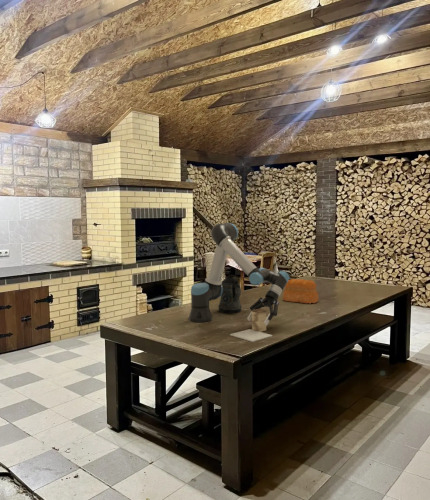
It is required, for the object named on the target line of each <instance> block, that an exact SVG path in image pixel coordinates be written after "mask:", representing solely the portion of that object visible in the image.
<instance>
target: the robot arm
mask: <svg viewBox="0 0 430 500" xmlns="http://www.w3.org/2000/svg"><path fill="white" fill-rule="evenodd" d="M210 235H211V239H212V240H213V242H214V243H215V244H216V246H215V249H214V250H215V251H214V253H213V257H212V262H211V266H210V269H209V274H208V277H205V279H204V282H199V283H194V284H192V285H191V288H190V296H191V297H190V299H191V301H190V303H191V309H190V312H189V315H188V321H190V322H193V323H207V322H208V323H209V322H211V321H213V315H212V312H211V308H210V302H211V301H215V300H217V299H218V298H221V294H222V292H223V288H222V276H223V274H224V273H223V272H224V268H225V266H226V261H227V259H228V258H227V257H228V256H229V257H230V258H231V259H232V260H233V261H234V263H235V264H236V265H237V266H238V267H239V268H240V269H241V270H242V271H243V273H244V274H245V275H247V277H248V281H249V283H250V284H251V285H252V286H259V285H262V284H266V283H268V284H270V287H269V288H268V290H267V292H266V293H265V295H264V296H265V297H264V298H262V297H259V298H258V300H257V301H255V303H253V304H252V305H251V306H250V307H249V309H250V312H249V314H248V316H247V318H246V319H247V320H248V322H252V310H256V309H261V308H264V307H265V308H267V307H268V308H269V312H270V313H268V315H266V320H265V321H264V324H265V325H266V327H267V326H268V324H269V323H270V321H271V320H272V319H273V317H278V309H279V304H280V302H279V301H278V300H279V297H280V296H281V294H282V292H284V291H283V290H285V286H286V284H287V282H288V281H289V280H290V275H289V273H288V272H286V271H284V270H281V271H279V272H278V273H277V272H274V271H272V270H270V269H267V268H265V267H260V268H258V267H257V266H256V265H255V264H254V263H253V262H252V260H251V259H249V257H248V256H247V255H246V254H245V253H244V252H243V251H242V250H241V249H240V248H239V246H238V245H237V244H236V243H234V241H235V240H237V238H238V236H239V229H238V228H237V226H236V225H235V224H234V223H230V222H226V223H217V224H214V226H213V227H212V228H211V232H210Z"/></svg>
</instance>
